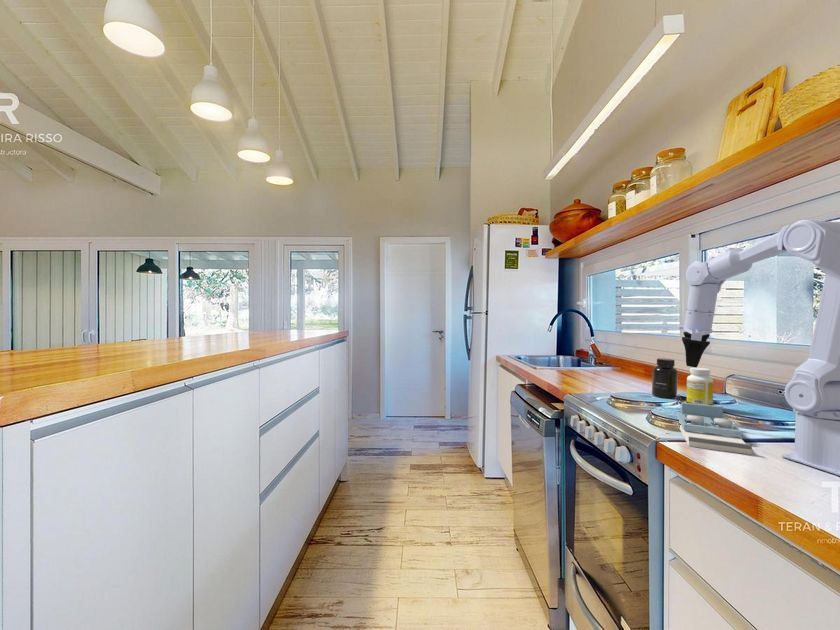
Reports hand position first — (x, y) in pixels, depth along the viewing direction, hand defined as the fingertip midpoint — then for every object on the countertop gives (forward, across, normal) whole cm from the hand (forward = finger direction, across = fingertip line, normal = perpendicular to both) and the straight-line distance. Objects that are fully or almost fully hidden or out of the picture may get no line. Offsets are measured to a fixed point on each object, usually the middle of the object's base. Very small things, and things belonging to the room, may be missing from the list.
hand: (691, 363), depth 99 cm
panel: (+11, +13, +4) cm, 18 cm away
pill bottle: (+16, -14, +4) cm, 21 cm away
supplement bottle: (+18, -24, -5) cm, 30 cm away
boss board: (+12, +16, +5) cm, 21 cm away
